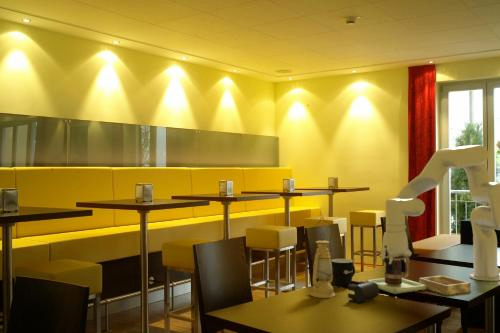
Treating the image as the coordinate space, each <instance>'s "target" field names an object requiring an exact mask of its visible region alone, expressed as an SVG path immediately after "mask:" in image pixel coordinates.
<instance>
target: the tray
mask: <svg viewBox="0 0 500 333" xmlns="http://www.w3.org/2000/svg"><path fill="white" fill-rule="evenodd" d="M371 281H373V282H375V283H376V284H377V285H378V287H379V290H382V291H384V292H388V293H390V294H393V295H397V294H403V293H405V294H406V293H412V292H413V291H414V292H419V291H418V290H422V291H427V290H428V289H427V285H424V284H421V283H419V282H418V281H415V280H414V281H413V280H411V279H407V278H402V284H400V285H392V284H387V283H385V277H383V278H382V277H381V278H375V279H366V281H365V282H371Z"/></svg>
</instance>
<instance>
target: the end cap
mask: <svg viewBox="0 0 500 333" xmlns="http://www.w3.org/2000/svg"><path fill="white" fill-rule="evenodd" d="M347 290H348V291H351V292H354V294H352V293H350V292H349V293H347V298H348V302H349V303H352V304H356V303H357V304H356V305H359V304H362V303H366V302H369V301H372V300H374V299H376V298H377V297H378V296H379V294H380V289H379V287H378V285H377V284H376V283H375V282H373V281H371V282H366V281H358V282H357V284H356V283H351V284H350V285H348V286H347Z"/></svg>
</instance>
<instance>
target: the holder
mask: <svg viewBox="0 0 500 333" xmlns="http://www.w3.org/2000/svg"><path fill="white" fill-rule="evenodd" d="M418 283H421V284H424V285H427V290H428V289H429V291H432V292H435V291H436V292H435V293H438V292H439V294H442V295H445V294H446V296H449V295H448V294H450V295H456V293H458V294H464V293H471V282H468V281H466V280H461V279H457V278H453V277H449V276H445V275H435V276H426V277H419V278H418Z"/></svg>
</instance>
